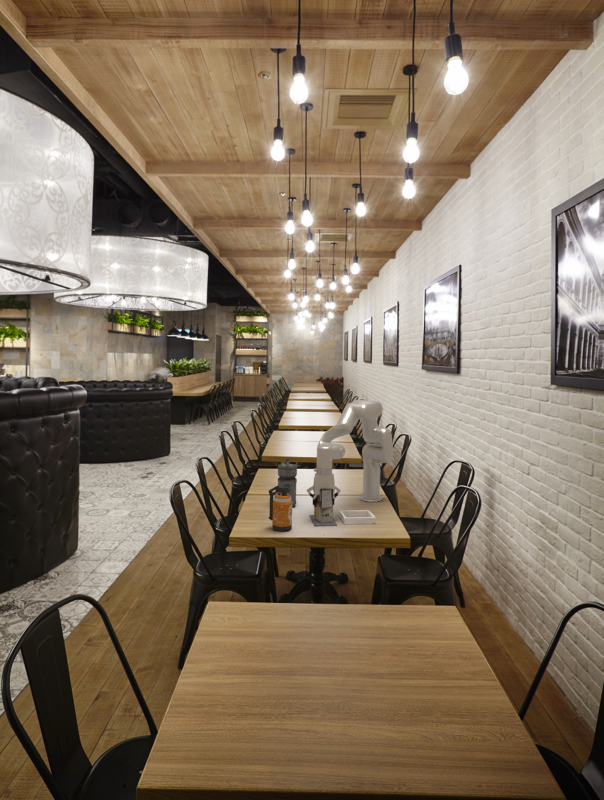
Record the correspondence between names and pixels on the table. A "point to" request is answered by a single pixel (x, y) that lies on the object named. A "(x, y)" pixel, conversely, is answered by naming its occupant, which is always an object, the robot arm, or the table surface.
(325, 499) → the coffee box
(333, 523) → the mat
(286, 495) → the canister
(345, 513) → the holder
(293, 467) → the beverage bottle
